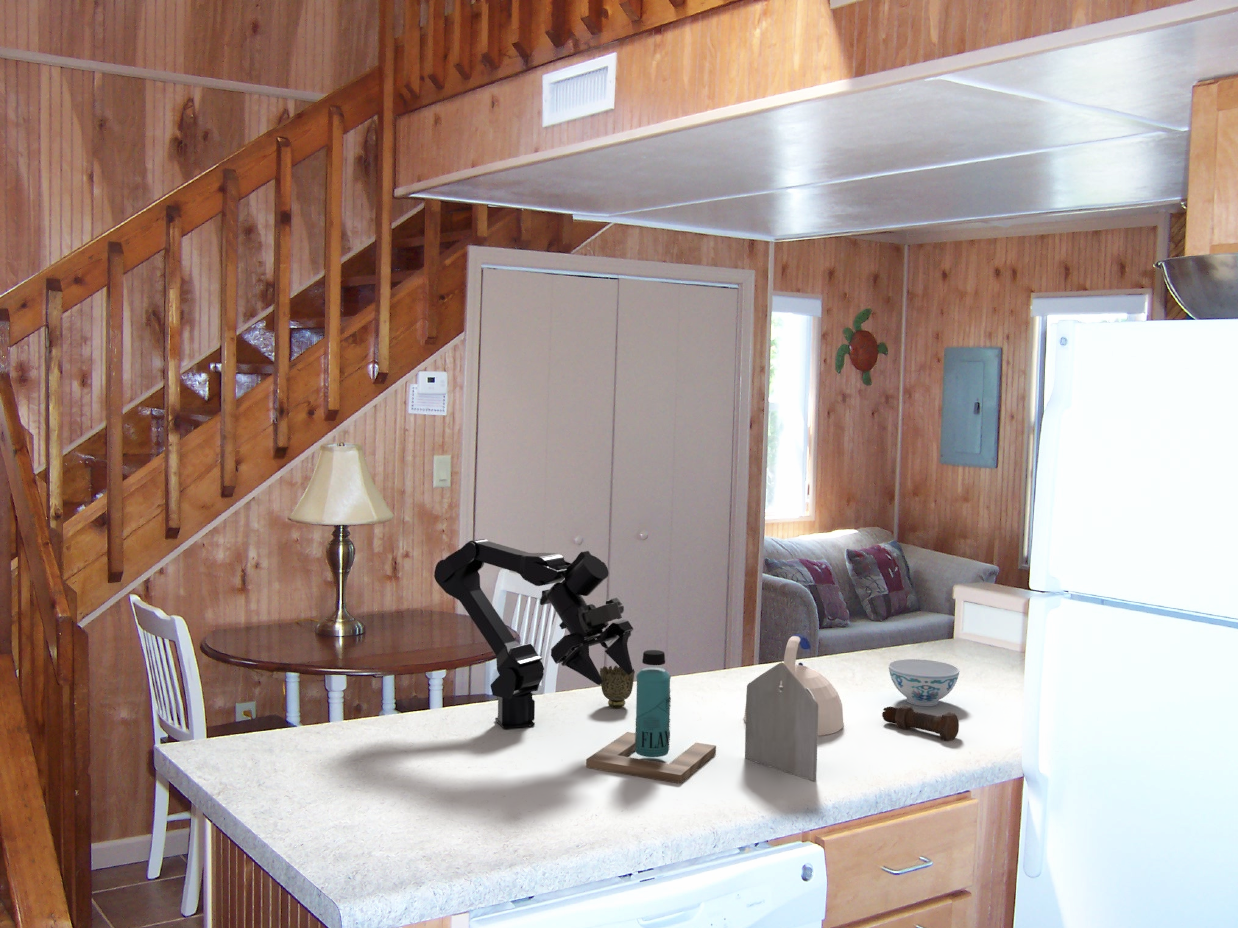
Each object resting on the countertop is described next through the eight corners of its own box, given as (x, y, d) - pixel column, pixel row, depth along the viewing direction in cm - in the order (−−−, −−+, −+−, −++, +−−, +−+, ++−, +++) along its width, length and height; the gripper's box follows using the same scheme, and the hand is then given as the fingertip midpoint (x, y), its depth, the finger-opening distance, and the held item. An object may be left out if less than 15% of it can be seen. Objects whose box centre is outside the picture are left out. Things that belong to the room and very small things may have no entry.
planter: (842, 772, 202) (845, 664, 200) (814, 781, 196) (817, 671, 195) (772, 749, 214) (774, 647, 213) (743, 757, 209) (746, 654, 207)
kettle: (731, 729, 226) (733, 640, 225) (758, 703, 245) (760, 621, 244) (832, 743, 218) (835, 650, 217) (852, 715, 237) (855, 630, 236)
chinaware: (966, 699, 251) (967, 665, 250) (946, 715, 238) (947, 679, 238) (900, 689, 259) (901, 655, 258) (877, 703, 246) (878, 668, 246)
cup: (633, 711, 237) (634, 673, 236) (598, 710, 237) (599, 673, 236) (634, 701, 244) (634, 665, 244) (599, 700, 244) (600, 664, 244)
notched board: (680, 783, 194) (680, 774, 194) (586, 767, 202) (586, 758, 202) (715, 753, 211) (715, 745, 211) (627, 739, 218) (627, 731, 218)
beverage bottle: (635, 765, 203) (637, 655, 202) (632, 754, 209) (634, 647, 208) (672, 765, 203) (674, 655, 202) (667, 753, 210) (669, 646, 209)
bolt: (887, 731, 233) (954, 746, 222) (875, 722, 230) (942, 737, 219) (895, 703, 235) (962, 717, 224) (883, 695, 232) (950, 709, 221)
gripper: (565, 592, 205) (610, 664, 200) (627, 578, 220) (671, 645, 214) (531, 627, 211) (574, 698, 205) (594, 611, 226) (636, 677, 220)
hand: (616, 678), depth 211 cm, fingers open, 9 cm apart
